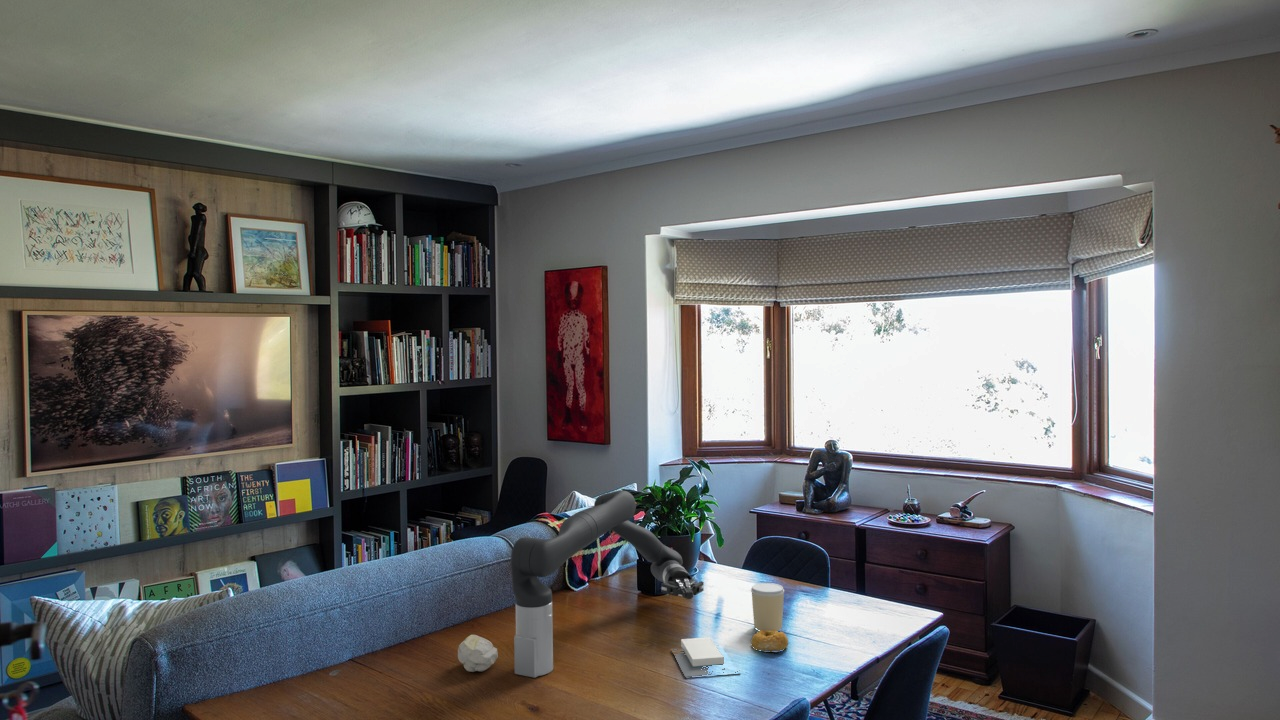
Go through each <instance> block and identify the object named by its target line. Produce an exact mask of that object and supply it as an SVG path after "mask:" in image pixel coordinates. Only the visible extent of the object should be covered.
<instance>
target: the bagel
mask: <svg viewBox="0 0 1280 720" xmlns="http://www.w3.org/2000/svg"><path fill="white" fill-rule="evenodd" d="M788 642H789V639H788V637H787V635H786V633H784V631H780V632H778V631H775V630H773V631H763V630H760V631H756V633H754V634H753V636H752V637H751V640H750V645H751V644H752V645H751V647H752V646H753V647H754V648H755V649H757V650H761V651H770V652H772V651H780V650H783V649H785V648H786V649H787V648H788V645H789V643H788ZM753 647H752V648H753ZM754 648H753V649H754ZM755 649H754V650H755ZM757 650H756V651H757ZM761 651H760V652H761Z"/></svg>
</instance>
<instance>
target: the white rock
mask: <svg viewBox="0 0 1280 720" xmlns="http://www.w3.org/2000/svg"><path fill="white" fill-rule="evenodd" d="M498 657H499V656H498V648H496V647H494V645H493V643H492V642H491V641H490V640H488V639H486V638H484V637H482V636H479V635H476V634H470V635H468V636H467V637H466V638H465V639H464V640H463V641H462V642H461V643H459V645H458V649H457V659H458V661H459V662H460V663H461V664H462V665H463V667H464V669H465V671H467V672H472V673H474V672H485V671H486V670H488V669H489V668H490V667H492V665H494V663H495V662H496V661H497V659H498Z"/></svg>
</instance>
